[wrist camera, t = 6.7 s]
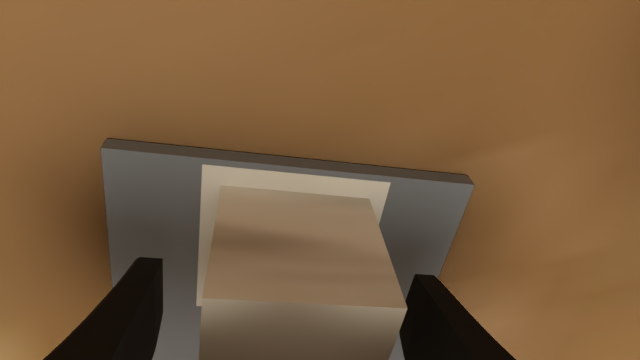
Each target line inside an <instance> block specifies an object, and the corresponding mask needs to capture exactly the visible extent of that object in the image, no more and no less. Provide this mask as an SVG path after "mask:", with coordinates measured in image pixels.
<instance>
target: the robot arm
mask: <svg viewBox="0 0 640 360" xmlns="http://www.w3.org/2000/svg"><path fill="white" fill-rule="evenodd" d="M405 302H406V305H407V308H408V309H407V311H406V314H405V317H404V320H403V322H402V325H401V328H400V330H399V334H400V340H401V345H402V350H403V355H404V359H405V360H516V359H515V358H514V357H513V356H511V355H510V354H509V353H508V352H507V351H506V350H505V349H504V348H503V347H502V346H501V345H500V344H499V343H498V342H497V341H496V340H495V339H494V338H493V337H492V336H491V335H490V334H489V333H488V332H487V331H486V330H485V329H484V328H483V327H482V326H481V325H480V324H479V323H478V322H477V321H476V320H475V319H474V318H473V317H472V315H471V314H470V313H469V312H468V311H467V310H466V309H465V308H464V307H463V306H462V305H461V304H460V302H459V301H458V300H457V299H456V298H455V297H454V296H453V295H452V294H451V293H450V291H449V290H448V289H447V288H446V287H445V286H444V285H443V284H442V283H441V282H440V281H439V280H438V279H437V278H436V276H435V275H423V274H415V275H414V278H413V281H412V283H411V286H410V289H409V292H408V295H407V297H406V300H405ZM162 316H163V258H148V257H139V258H137V259H136V260H135V261H134V262H133V263H132V265H131V266H130V267H129V269H128V270H127V271H126V273H125V274H124V275H123V276H122V278H121V279H120V280H119V281H118V283H117V284H116V285H115V286H114V287H113V288H112V290H111V291H110V292H109V293H108V294H107V296H106V297H105V298H104V299H103V300H102V301H101V302H100V303H99V304H98V306H97V307H96V308H95V309H94V310H93V311H92V312H91V313H90V314H89V315H88V317H87V318H86V319H85V320H84V321H83V322H82V323H81V324H80V325H79V326H78V327H77V328H76V329H75V330H74V331H73V332H72V333H71V334H70V335H69V336H68V337H67V338H66V339H65V340H64V341H63V342H62V343H61V344H59V345H58V346H57V347H56V348H55V349H54V350H53V351H52V352H51V353H50V354H49V355H48V356H46V357H45V358H44V359H43V360H152V358H153V355H154V352H155V349H156V345H157V340H158V336H159V331H160V326H161V321H162Z"/></svg>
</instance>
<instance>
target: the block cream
mask: <svg viewBox="0 0 640 360" xmlns="http://www.w3.org/2000/svg"><path fill="white" fill-rule="evenodd" d="M407 309H408V308H407V305H406V302H405V300H404V297H403V294H402V291H401V288H400V285H399V282H398V279H397V277H396V274H395V271H394V268H393V265H392V262H391V259H390V256H389V254H388V251H387V248H386V245H385V242H384V239H383V236H382V233H381V231H380V228H379V225H378V222H377V219H376V216H375V213H374V210H373V208H372V205H371V202H370V199H367V198H356V197H345V196H334V195H323V194H312V193H301V192H291V191H280V190H269V189H258V188H247V187H236V186H225V185H221V190H220V196H219V202H218V208H217V214H216V219H215V225H214V231H213V237H212V243H211V249H210V254H209V260H208V266H207V272H206V278H205V284H204V289H203V295H202V307H201V326H200V345H199V360H389V358H390V355H391V352H392V349H393V347H394V344H395V341H396V339H397V336H398V333H399V330H400V328H401V325H402V322H403V320H404V317H405V314H406V311H407Z"/></svg>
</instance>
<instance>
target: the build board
mask: <svg viewBox="0 0 640 360" xmlns="http://www.w3.org/2000/svg"><path fill="white" fill-rule="evenodd" d="M101 157H102V169H103V181H104V193H105V205H106V217H107V229H108V241H109V253H110V265H111V277H112V288H113V287H114V286H115V285H116V284H117V283H118V281H119V280H120V279H121V278H122V276H123V275H124V274H125V273H126V271H127V270H128V269H129V267H130V266H131V265H132V263H133V262H134V261H135V260H136V259H137V258H139V257H148V258H163V316H162V321H161V326H160V331H159V336H158V340H157V345H156V349H155V352H154V355H153V358H152V360H199V345H200V326H201V307H202V295H203V289H204V284H205V278H206V272H207V266H208V260H209V254H210V249H211V243H212V237H213V231H214V225H215V219H216V214H217V208H218V202H219V196H220V190H221V185H225V186H236V187H247V188H258V189H269V190H280V191H291V192H301V193H312V194H323V195H334V196H345V197H356V198H367V199H370V202H371V205H372V208H373V210H374V213H375V216H376V219H377V222H378V225H379V228H380V231H381V233H382V236H383V239H384V242H385V245H386V248H387V251H388V254H389V256H390V259H391V262H392V265H393V268H394V271H395V274H396V277H397V279H398V282H399V285H400V288H401V291H402V294H403V297H404V300H406V297H407V295H408V292H409V289H410V286H411V283H412V281H413V278H414V275H415V274H423V275H435V276H436V278H437V279H438V277H439V274H440V272H441V269H442V267H443V264H444V262H445V259H446V257H447V254H448V252H449V249H450V246H451V244H452V241H453V239H454V236H455V234H456V231H457V229H458V226H459V224H460V221H461V219H462V216H463V213H464V211H465V208H466V206H467V203H468V201H469V198H470V196H471V193H472V191H473V188H474V183H473V182H472V181H471V179H470V178H469V177H468V175H460V174H450V173H440V172H431V171H421V170H411V169H401V168H392V167H382V166H372V165H362V164H352V163H343V162H333V161H323V160H313V159H304V158H294V157H284V156H274V155H265V154H255V153H245V152H235V151H225V150H216V149H206V148H196V147H186V146H177V145H167V144H157V143H147V142H138V141H128V140H118V139H108V138H107V140H106V141H105V143H104V144H103V145H102V147H101ZM389 360H405V359H404V355H403V350H402V345H401V340H400V334H399V333H398V336H397V339H396V341H395V344H394V347H393V349H392V352H391V355H390V358H389Z"/></svg>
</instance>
